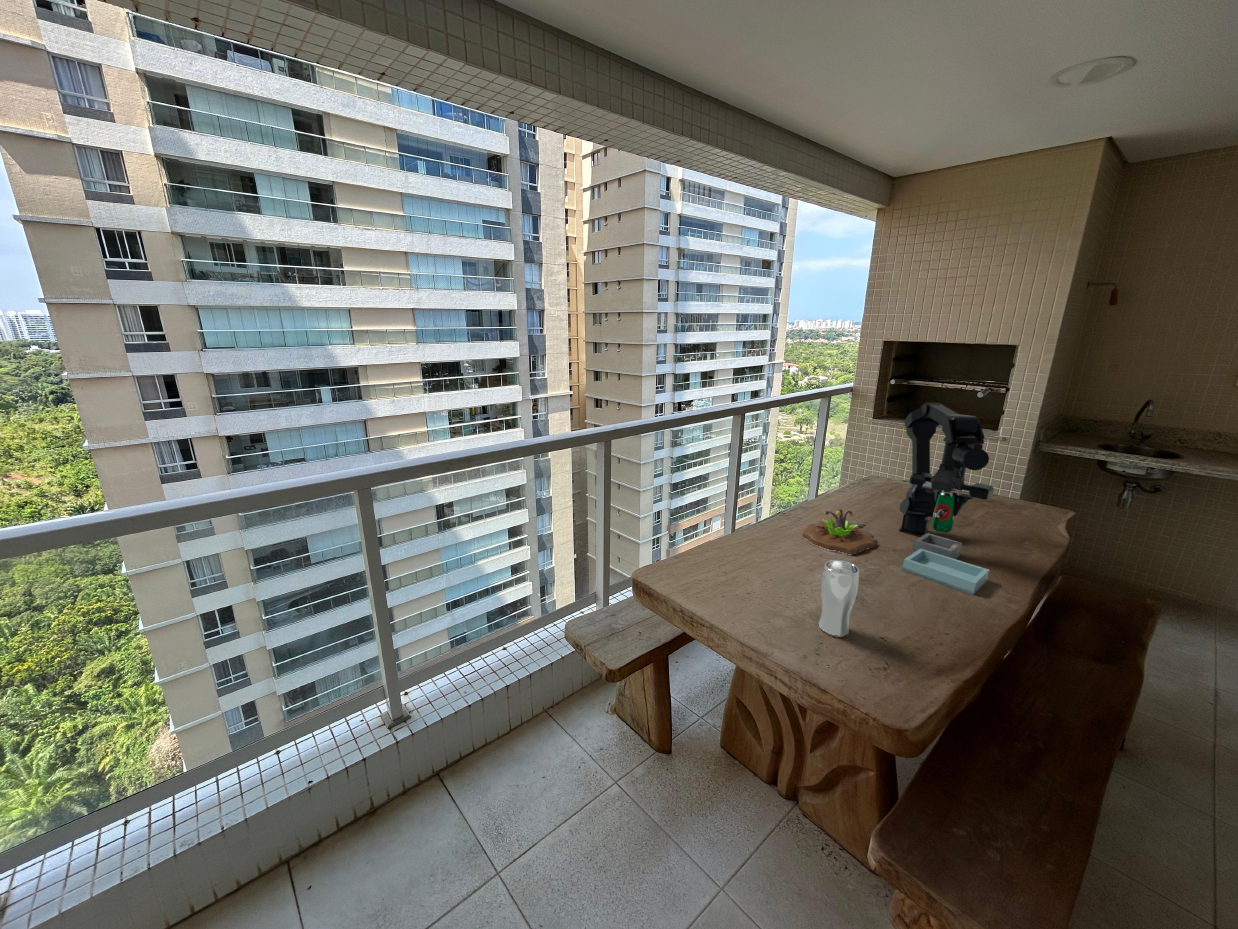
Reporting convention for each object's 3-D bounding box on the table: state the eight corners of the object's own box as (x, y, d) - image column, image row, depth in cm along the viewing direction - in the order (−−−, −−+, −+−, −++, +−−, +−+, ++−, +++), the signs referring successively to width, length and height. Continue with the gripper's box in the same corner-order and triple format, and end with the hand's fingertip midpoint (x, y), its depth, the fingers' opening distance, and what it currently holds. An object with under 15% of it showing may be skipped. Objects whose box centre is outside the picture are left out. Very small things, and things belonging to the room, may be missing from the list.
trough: (902, 570, 124) (904, 559, 123) (918, 559, 130) (920, 548, 129) (972, 595, 112) (975, 583, 111) (986, 581, 118) (989, 569, 117)
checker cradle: (913, 553, 134) (915, 539, 133) (925, 545, 139) (927, 531, 138) (948, 564, 127) (951, 550, 126) (959, 555, 132) (962, 541, 131)
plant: (791, 539, 144) (795, 506, 141) (819, 524, 157) (823, 493, 154) (857, 561, 130) (863, 525, 127) (882, 542, 142) (887, 508, 139)
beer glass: (810, 620, 102) (817, 559, 98) (839, 619, 102) (848, 558, 98) (826, 640, 95) (835, 575, 91) (858, 638, 95) (867, 574, 92)
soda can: (955, 533, 128) (963, 493, 125) (935, 532, 129) (943, 492, 126) (946, 526, 133) (954, 488, 130) (927, 525, 134) (934, 487, 131)
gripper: (905, 458, 128) (897, 510, 132) (986, 473, 114) (974, 530, 118) (921, 452, 135) (912, 502, 139) (1000, 465, 120) (987, 520, 124)
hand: (944, 513), depth 130 cm, fingers closed on soda can, 5 cm apart
